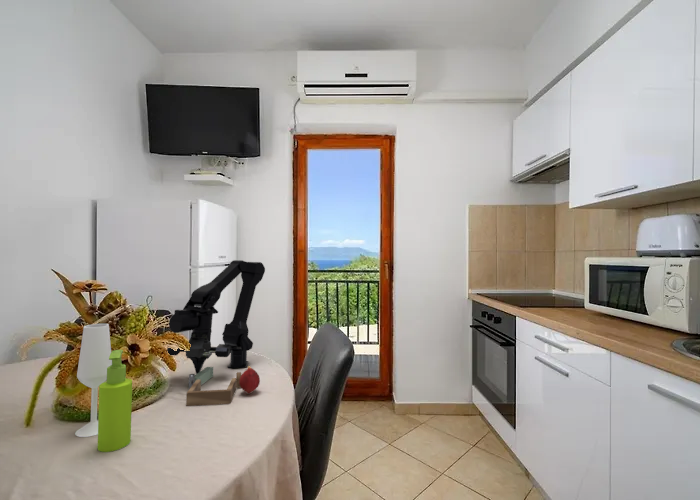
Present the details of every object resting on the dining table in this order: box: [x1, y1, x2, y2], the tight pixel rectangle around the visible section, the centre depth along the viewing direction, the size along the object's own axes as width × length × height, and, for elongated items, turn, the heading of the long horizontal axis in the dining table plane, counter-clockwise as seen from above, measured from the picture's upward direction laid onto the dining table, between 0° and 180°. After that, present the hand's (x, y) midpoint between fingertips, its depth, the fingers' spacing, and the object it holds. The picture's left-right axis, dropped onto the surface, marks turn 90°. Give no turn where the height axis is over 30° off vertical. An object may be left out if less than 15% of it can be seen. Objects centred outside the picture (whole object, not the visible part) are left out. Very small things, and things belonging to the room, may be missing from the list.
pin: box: [188, 373, 196, 390], centre depth 105 cm, size 2×2×4 cm
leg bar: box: [195, 366, 214, 386], centre depth 111 cm, size 10×2×3 cm, turn 176°
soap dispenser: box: [97, 349, 133, 453], centre depth 74 cm, size 6×7×20 cm
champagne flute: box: [74, 323, 112, 438], centre depth 81 cm, size 7×7×24 cm
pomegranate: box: [239, 365, 261, 395], centre depth 103 cm, size 6×6×8 cm
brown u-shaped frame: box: [185, 371, 242, 407], centre depth 101 cm, size 12×13×4 cm
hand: (197, 376), depth 113 cm, fingers closed
